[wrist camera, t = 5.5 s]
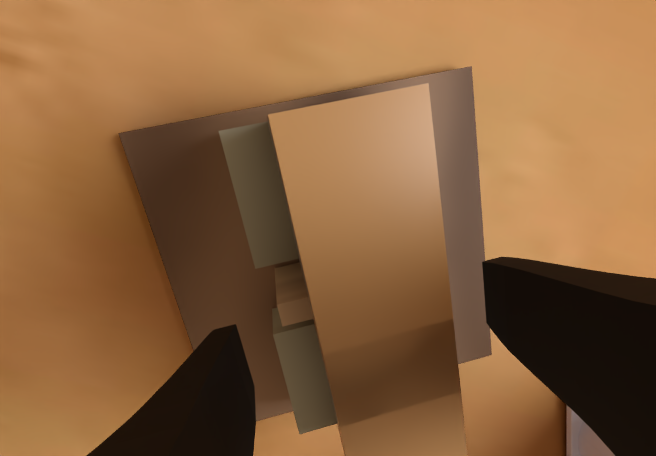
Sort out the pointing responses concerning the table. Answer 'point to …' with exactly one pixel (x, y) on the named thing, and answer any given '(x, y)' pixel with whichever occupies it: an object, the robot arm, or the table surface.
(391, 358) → the grey tan long block
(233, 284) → the display stand
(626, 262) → the table surface
